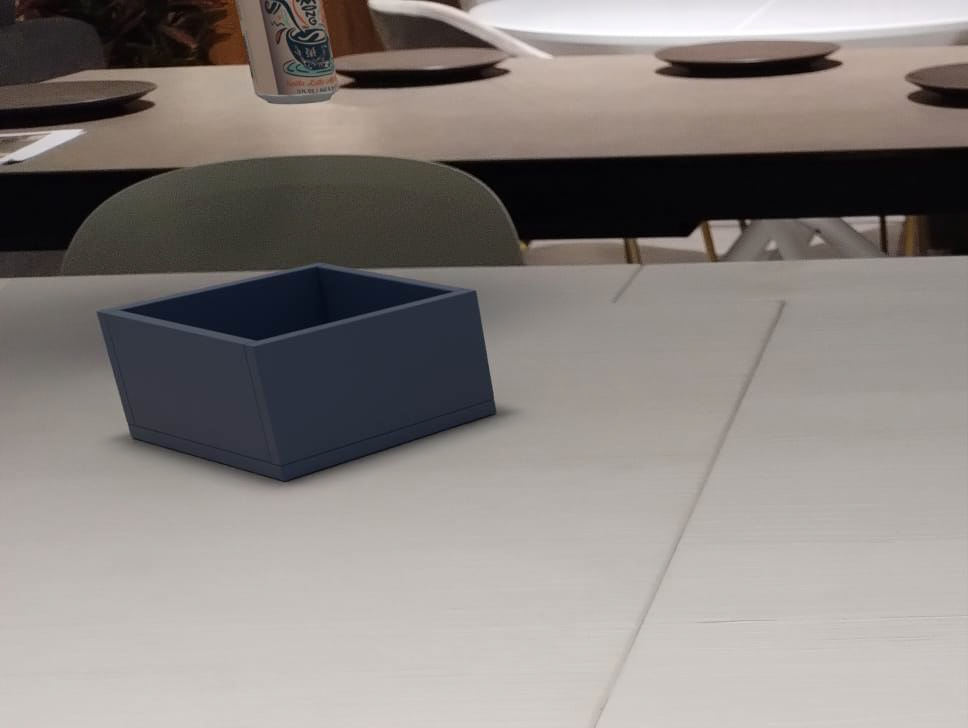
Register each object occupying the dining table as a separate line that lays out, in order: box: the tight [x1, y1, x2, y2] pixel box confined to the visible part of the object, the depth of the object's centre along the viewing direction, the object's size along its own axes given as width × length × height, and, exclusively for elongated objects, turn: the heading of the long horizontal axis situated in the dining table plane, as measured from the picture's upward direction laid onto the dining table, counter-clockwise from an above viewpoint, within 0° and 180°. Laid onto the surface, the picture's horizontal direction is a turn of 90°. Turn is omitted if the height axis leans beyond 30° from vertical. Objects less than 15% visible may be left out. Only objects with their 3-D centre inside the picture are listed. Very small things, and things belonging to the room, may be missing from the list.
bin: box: [96, 262, 497, 482], centre depth 91 cm, size 14×14×7 cm
